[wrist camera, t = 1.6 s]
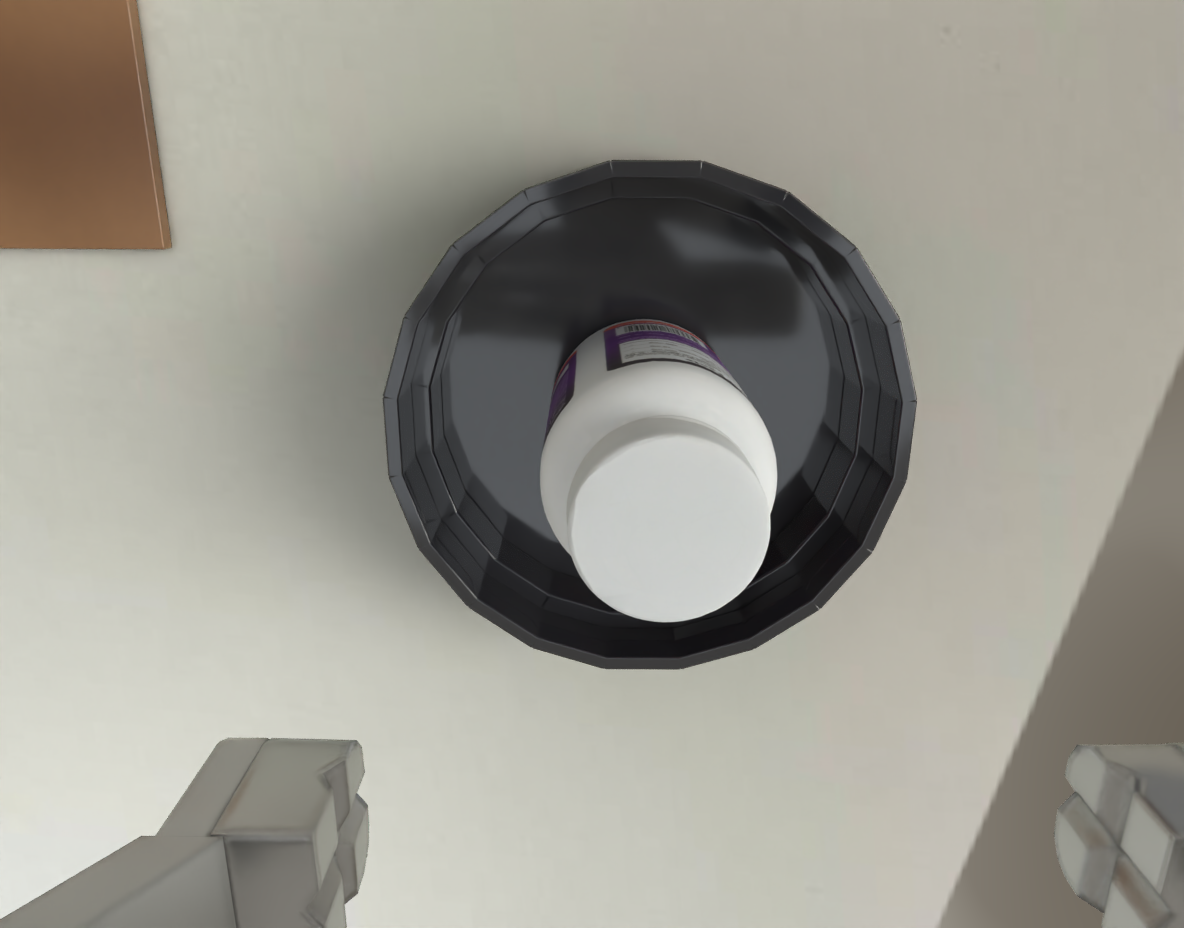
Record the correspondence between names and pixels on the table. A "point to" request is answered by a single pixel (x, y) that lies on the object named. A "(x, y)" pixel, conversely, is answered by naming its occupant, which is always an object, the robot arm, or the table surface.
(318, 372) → the table surface
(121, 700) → the table surface
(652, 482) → the pill bottle
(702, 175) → the pan
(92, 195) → the copper plate
